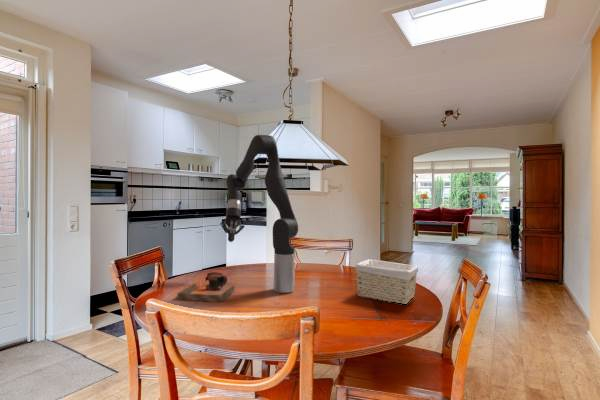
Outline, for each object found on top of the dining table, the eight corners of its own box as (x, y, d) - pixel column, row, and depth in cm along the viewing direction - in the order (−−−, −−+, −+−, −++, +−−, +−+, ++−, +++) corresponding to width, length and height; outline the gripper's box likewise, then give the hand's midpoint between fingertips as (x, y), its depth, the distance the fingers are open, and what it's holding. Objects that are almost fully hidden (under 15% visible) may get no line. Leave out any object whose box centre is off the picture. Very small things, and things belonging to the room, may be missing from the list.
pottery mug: (199, 290, 156) (201, 273, 160) (211, 295, 164) (213, 278, 168) (221, 286, 152) (222, 268, 156) (233, 291, 160) (234, 274, 164)
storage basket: (418, 298, 151) (419, 265, 151) (408, 307, 138) (409, 271, 137) (367, 289, 164) (368, 258, 164) (353, 297, 150) (354, 263, 150)
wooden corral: (234, 291, 154) (234, 285, 154) (222, 302, 138) (222, 296, 138) (193, 288, 156) (194, 283, 156) (177, 299, 140) (177, 293, 140)
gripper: (224, 204, 173) (220, 237, 165) (248, 210, 179) (246, 241, 172) (219, 209, 178) (215, 241, 171) (242, 214, 185) (240, 245, 177)
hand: (231, 241), depth 171 cm, fingers closed
